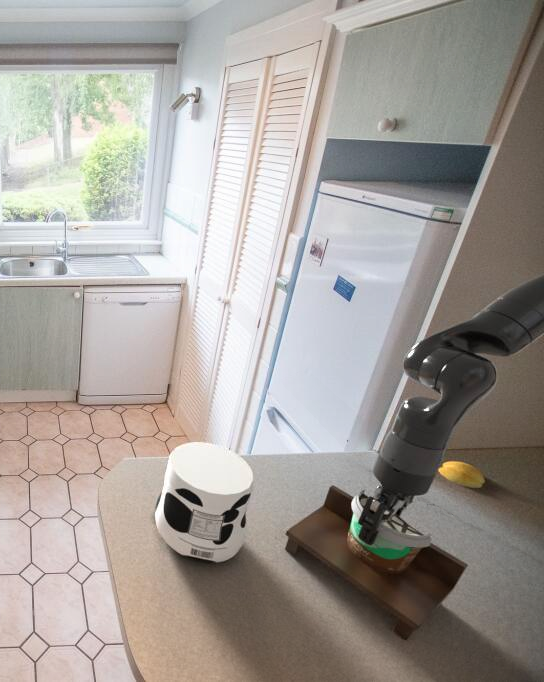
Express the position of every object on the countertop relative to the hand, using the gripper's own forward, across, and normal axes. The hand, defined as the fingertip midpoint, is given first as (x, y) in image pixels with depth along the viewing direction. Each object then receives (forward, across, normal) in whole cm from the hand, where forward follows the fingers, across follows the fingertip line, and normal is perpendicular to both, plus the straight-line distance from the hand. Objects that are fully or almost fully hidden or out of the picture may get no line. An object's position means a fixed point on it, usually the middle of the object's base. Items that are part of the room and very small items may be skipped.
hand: (376, 531), depth 81 cm
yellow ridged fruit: (+11, -48, -1) cm, 49 cm away
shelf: (+11, 0, 0) cm, 11 cm away
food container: (+6, 0, 0) cm, 6 cm away
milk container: (+11, +19, -22) cm, 31 cm away
